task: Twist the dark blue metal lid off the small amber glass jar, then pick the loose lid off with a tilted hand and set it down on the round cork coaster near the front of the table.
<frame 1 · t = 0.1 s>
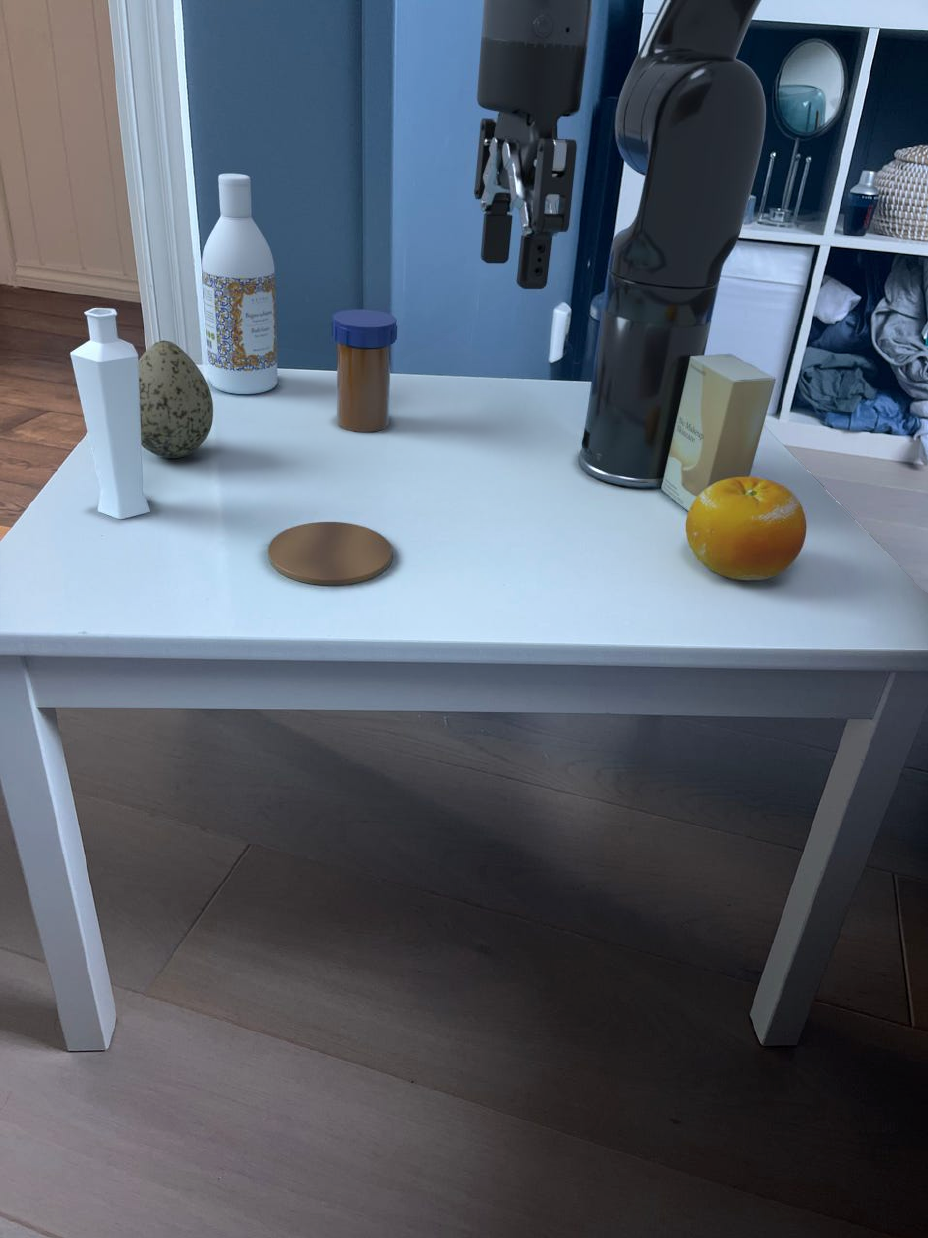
hand: (511, 274, 77), 17 cm above the table, tool pointing down, fingers open, 8 cm apart
coaster: (330, 554, 71), on the table
jar: (362, 422, 95), on the table
bath foam: (244, 386, 101), on the table
lid: (364, 322, 89), point 10 cm above the table, screwed on, not yet turned
decorative egg: (174, 457, 85), on the table
perfume bottle: (127, 510, 75), on the table
cosmetic box: (699, 505, 84), on the table
fruit: (735, 569, 75), on the table
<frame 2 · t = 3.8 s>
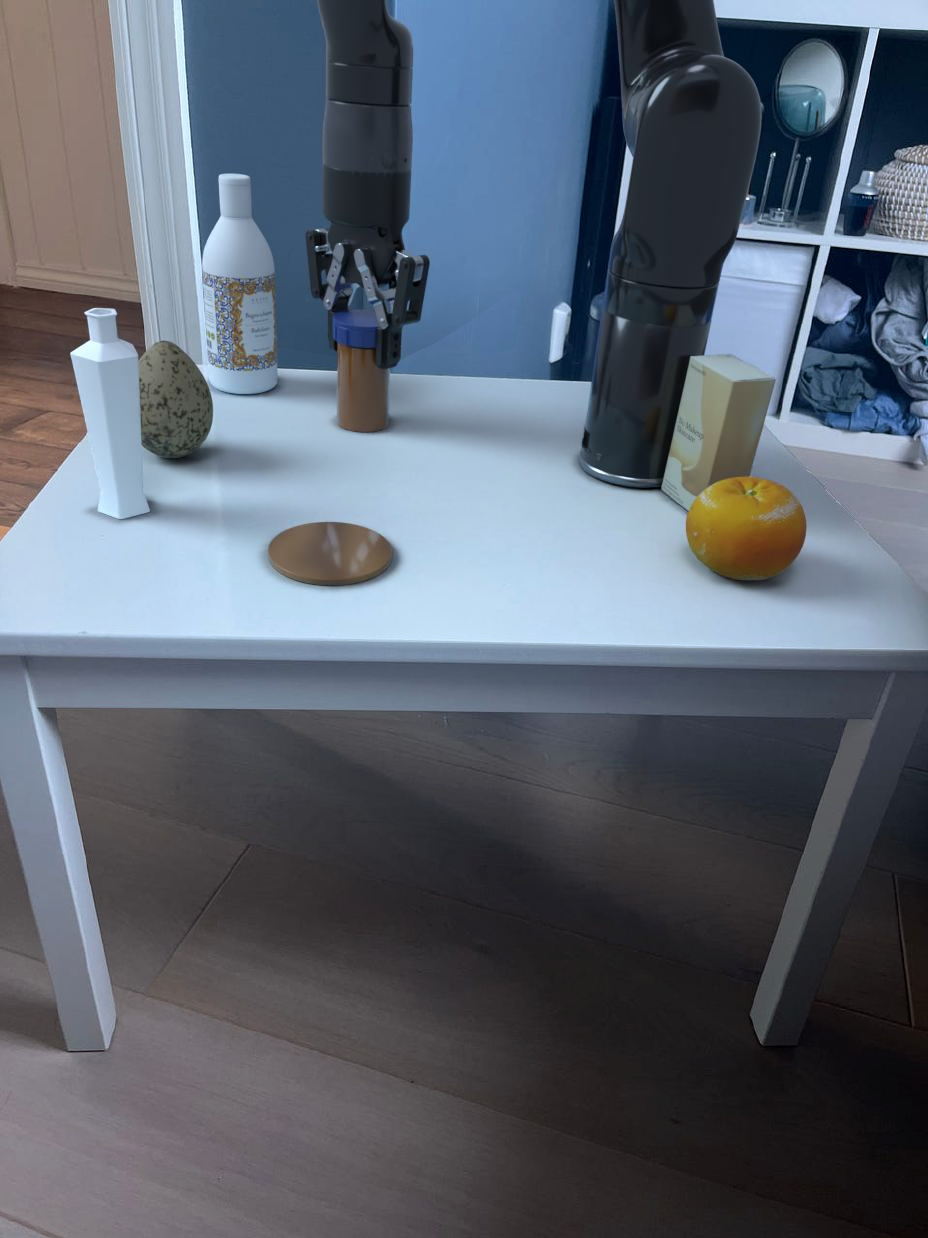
hand: (363, 357, 91), 6 cm above the table, tool pointing down, fingers closed on lid, 6 cm apart
lid: (364, 322, 89), point 10 cm above the table, screwed on, not yet turned, touching gripper
everything else where it was.
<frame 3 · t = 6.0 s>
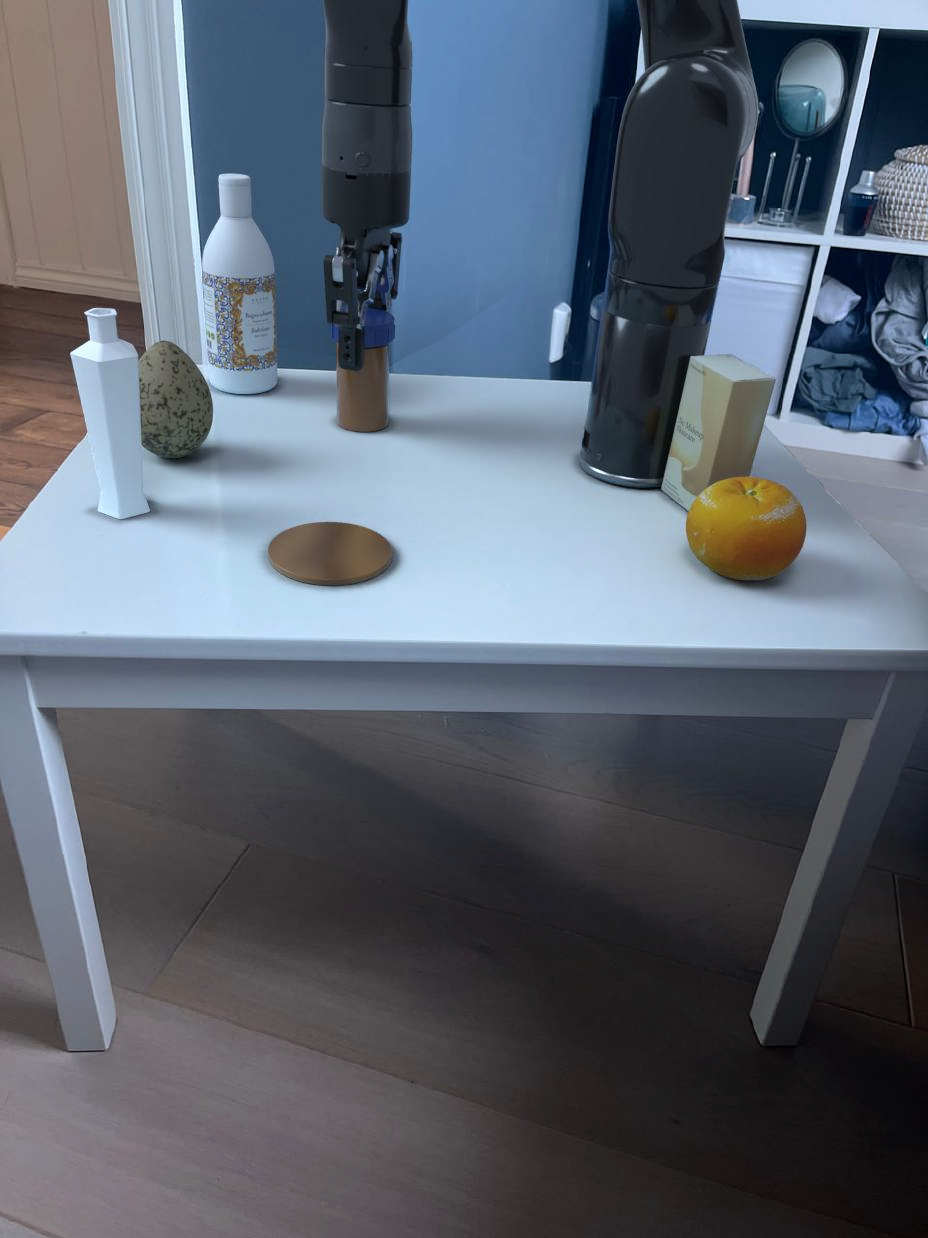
hand: (363, 358, 91), 6 cm above the table, tool pointing down, fingers closed on lid, 6 cm apart
lid: (362, 320, 89), point 10 cm above the table, off its thread, touching gripper
everything else where it was.
when the fingers open (6 cm above the table, at t = 6.7 s): lid stays where it is, resting on jar.
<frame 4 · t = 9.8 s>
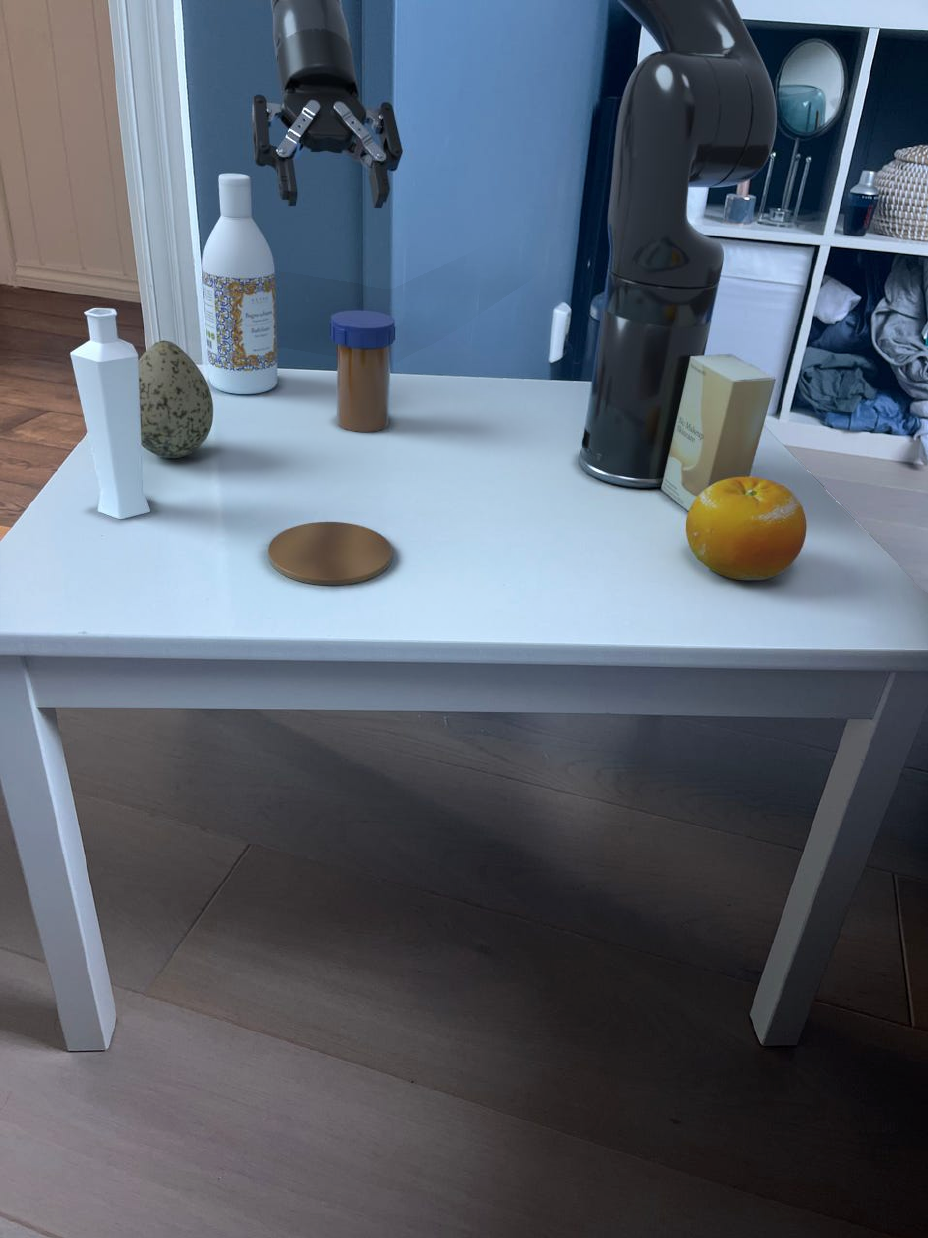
hand: (336, 202, 94), 18 cm above the table, tool tilted 45°, fingers open, 8 cm apart
jar: (362, 422, 95), on the table, touching lid
lid: (362, 323, 89), point 10 cm above the table, off its thread, touching jar
everything else where it was.
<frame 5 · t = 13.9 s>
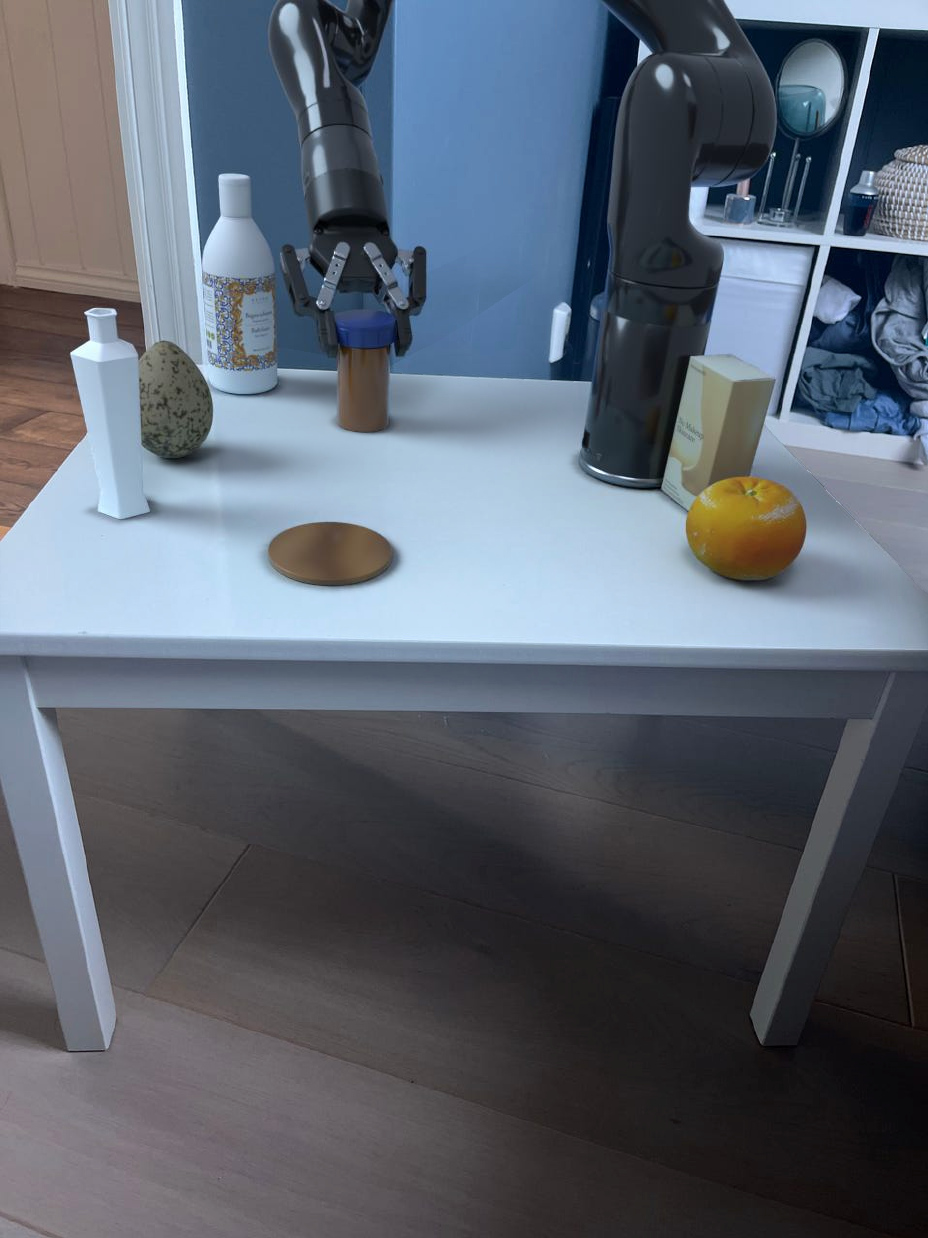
hand: (367, 352, 89), 7 cm above the table, tool tilted 45°, fingers closed on lid, 6 cm apart
lid: (364, 322, 89), point 10 cm above the table, off its thread, touching gripper, jar
everything else where it was.
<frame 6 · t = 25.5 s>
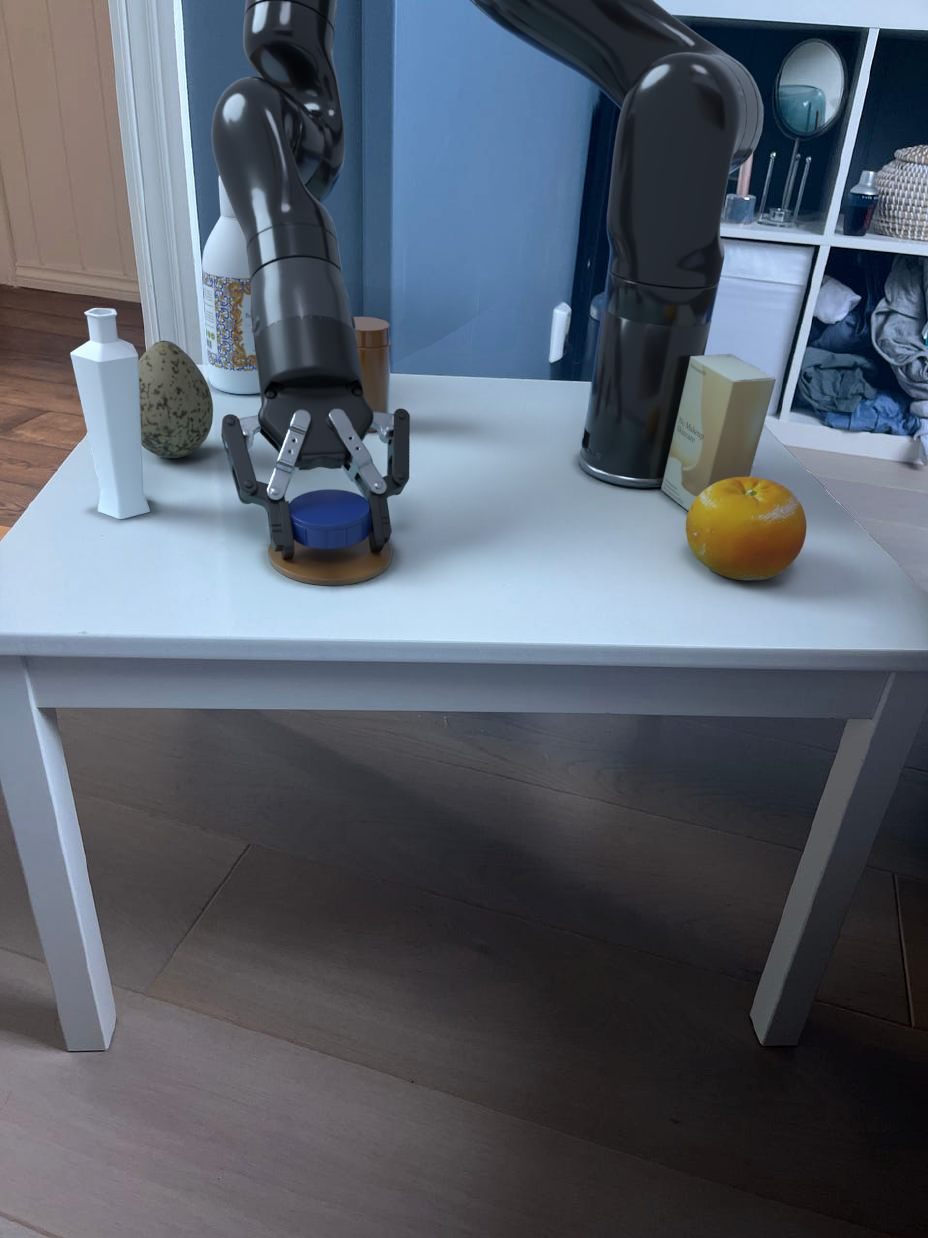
hand: (333, 551, 70), 1 cm above the table, tool tilted 45°, fingers closed on lid, 6 cm apart
jar: (362, 422, 95), on the table
lid: (329, 511, 70), point 3 cm above the table, off its thread, touching gripper
everything else where it was.
when the fingers open (5 cm above the table, at t = 47.9 s): lid drops 5 cm, resting on coaster.
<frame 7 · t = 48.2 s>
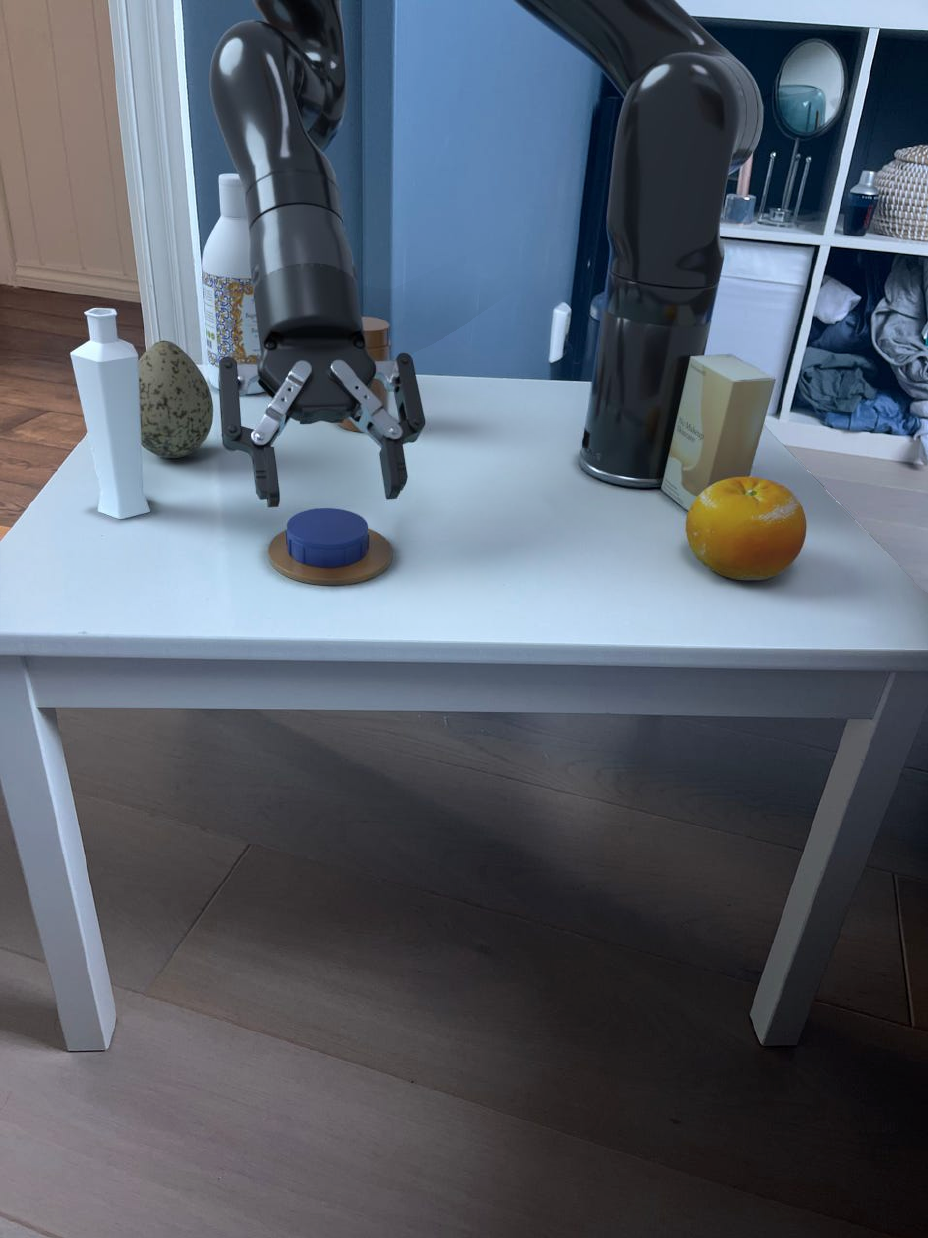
hand: (334, 499, 68), 5 cm above the table, tool tilted 45°, fingers open, 8 cm apart
lid: (327, 530, 70), point 2 cm above the table, off its thread, touching coaster
everything else where it was.
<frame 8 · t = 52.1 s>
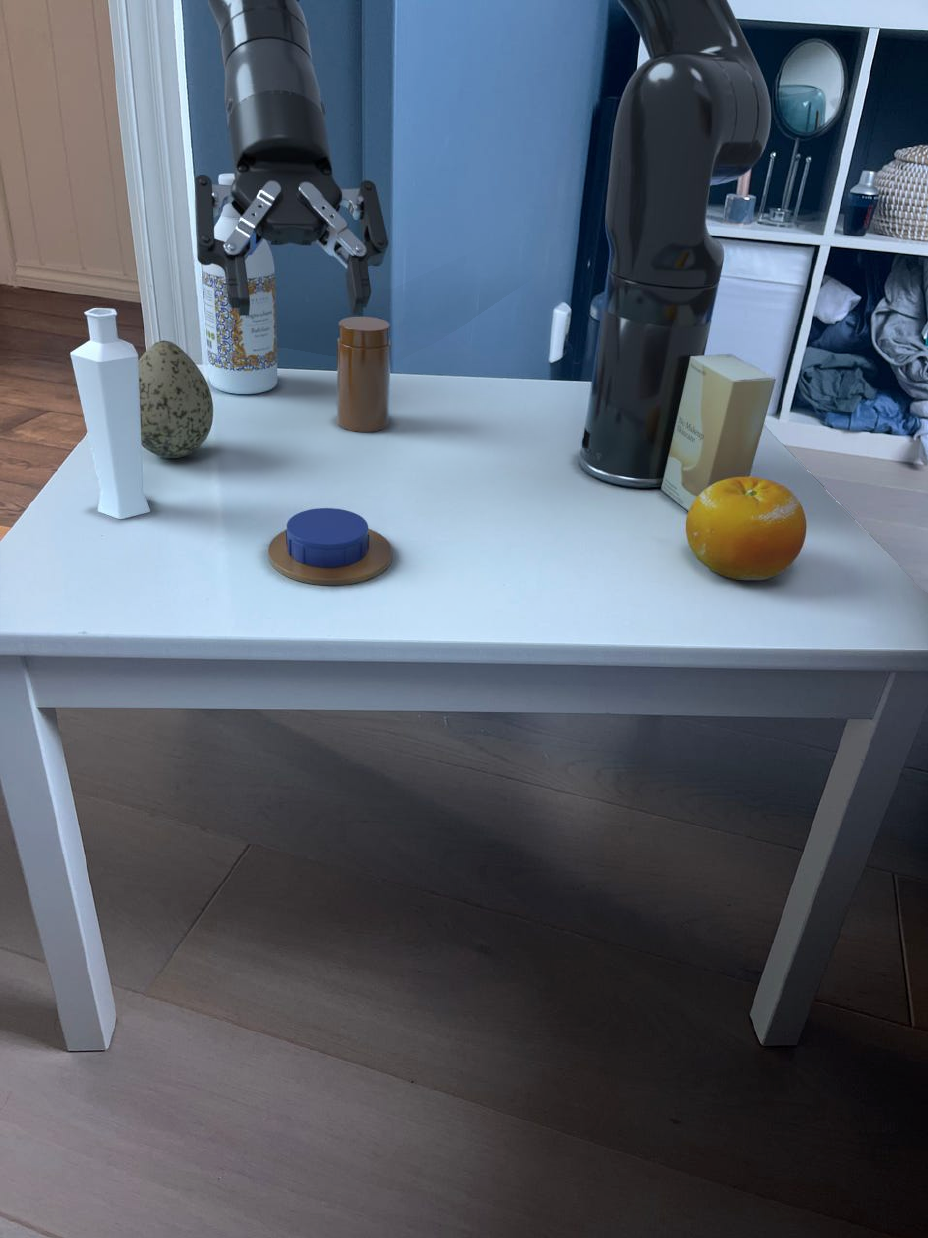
hand: (302, 309, 73), 15 cm above the table, tool tilted 45°, fingers open, 8 cm apart
nothing on the table moved.
at the end: lid came off its thread; lid inside the target area on the coaster (0.2 cm from its centre), point 2.0 cm above the coaster's base; the gripper is holding nothing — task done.
